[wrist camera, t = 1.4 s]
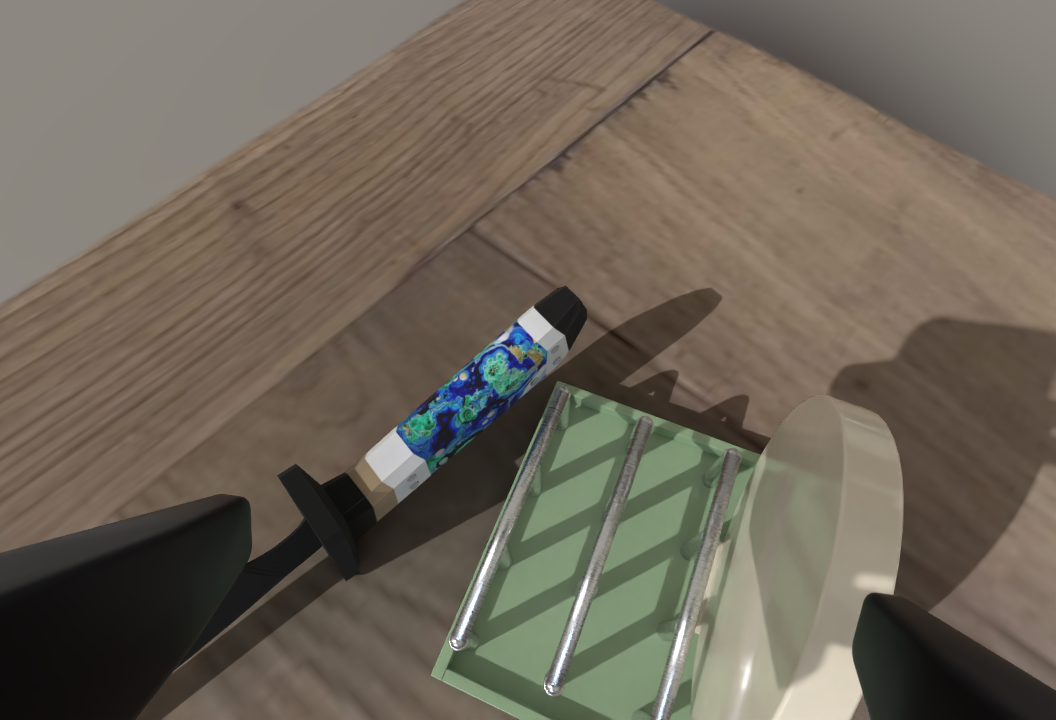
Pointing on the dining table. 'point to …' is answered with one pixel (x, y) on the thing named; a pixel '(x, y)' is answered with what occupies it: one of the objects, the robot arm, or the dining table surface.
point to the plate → (800, 569)
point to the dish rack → (597, 567)
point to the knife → (407, 453)
